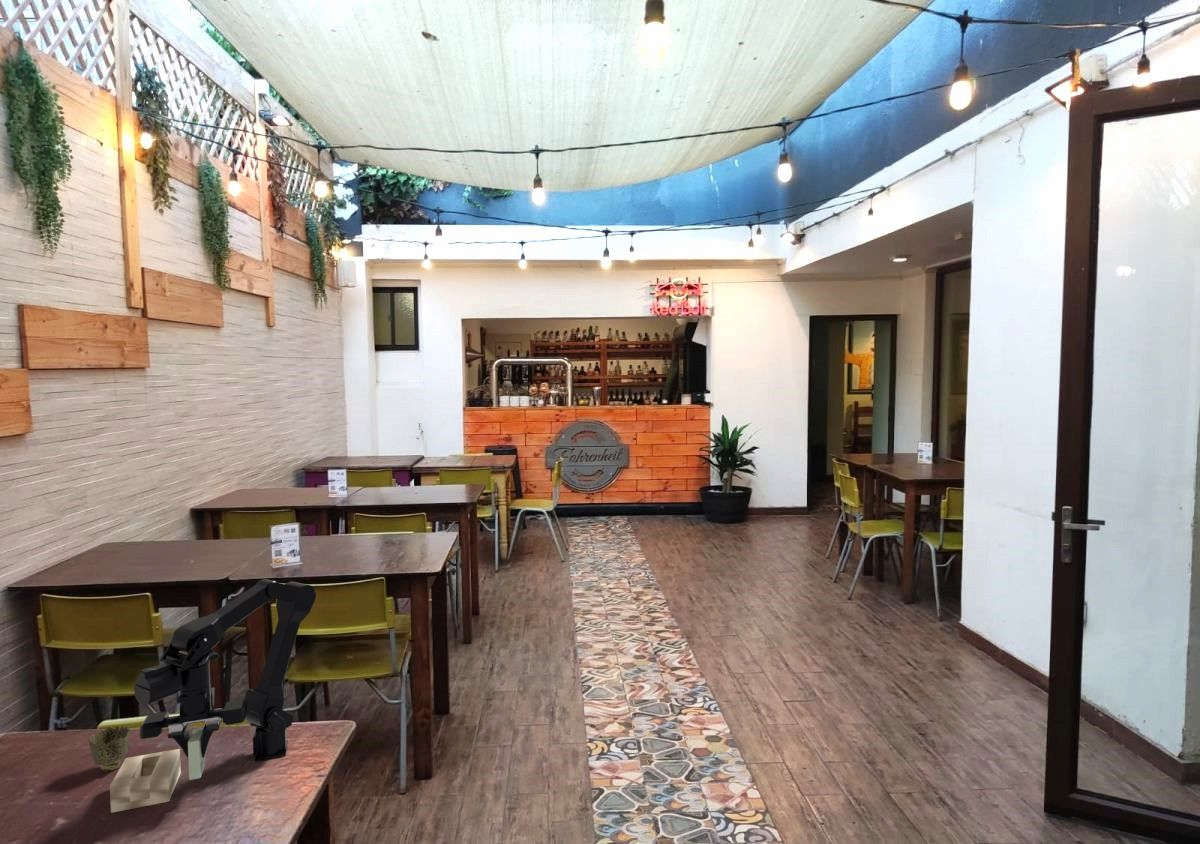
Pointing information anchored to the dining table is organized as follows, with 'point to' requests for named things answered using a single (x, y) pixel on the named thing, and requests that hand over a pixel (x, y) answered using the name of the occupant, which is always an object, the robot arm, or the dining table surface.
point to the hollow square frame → (145, 780)
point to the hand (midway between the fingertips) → (197, 757)
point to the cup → (109, 747)
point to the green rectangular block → (195, 754)
